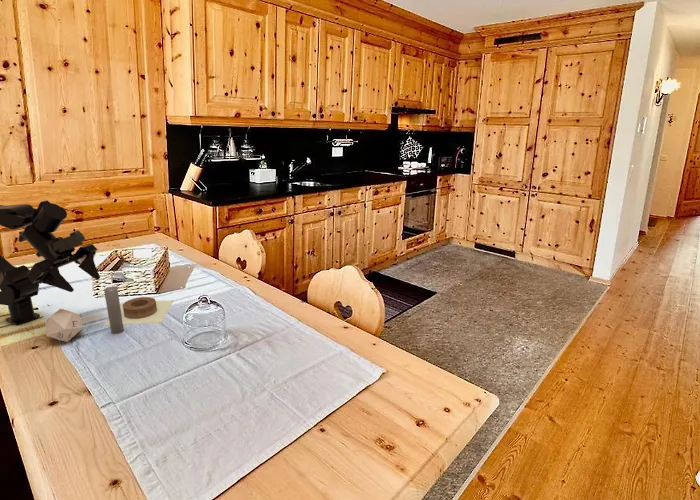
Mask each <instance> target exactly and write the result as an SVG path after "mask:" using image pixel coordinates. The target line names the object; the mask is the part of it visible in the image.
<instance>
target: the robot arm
mask: <svg viewBox="0 0 700 500" xmlns="http://www.w3.org/2000/svg"><path fill="white" fill-rule="evenodd" d="M67 217H68V213H67V211H66V209H65V208H64V207H62V206H61V205H58V204H57V203H56V204H55V203H52V202H50V201H49V200H47V199H46V200H42V201H40V202H39V204H38V206H37V208H36V207H33V206H32V205H31V204H27V203H24V204H23V203H21V204H20V203H19V204H10V205H9V204H8V205H5V204H3V205H2V204H0V227H4V228H6V229H9V230H16V229H20V228H21V229H22V228H24V227H25V228H24V229H23V230H22V231H21V230H20V231H19V232H18V242H19V243H22V242H26V241H27V242H28V243H29V244H30V246H32V247H33V248H34V250H35V251H36V253H35V256H37V258H40V257H42V258H44V260H43V259H42V260H40V261H38V262H35V263H34V264H33V265H32V267H31V268H29V267H28V266H26V265H23V264H22V265H20V266H18V267H17V266H15V265H13V264H12V263H10V261H8V260H7V259H6V258H5V257H4V256H2V255H1V254H0V305H1V306H7V309H8V313H9V316H8V317H6V318H5V321H7V322H9V323H11V324H13V325H16V326H18V325H21V324H22V325H23V324H24V323H27V322H29V321H33V320H35V319H38V318H41V315H40V314H39V313H36V312H35V309H34V305H33V302H32V297H35V296H38V295H39V288H40V284H45V285H48V286H52V287H55V288H58V289H60V290H63V291H66V292H69V293H73V292H74V291H75V289H74V288H73V286H72V285H71V284H70V283H69V281H68V280H66V278H65V277H64V276H63V275H62V274H61V273H60V269H59V268H62V267H63V266H64V267H65V266H66V265H70V264H71V263H75V264H76V265H78V266H77V267H78V268H79V269H80V270H82V271H84V272H85V273H86V274H87V275H88V276H90V277H92V278H93V279H94V280H96V281H99V280H100V279H101V276H100V274H99V271H98V269H97V266H96V264H95V260H94V258H95V256H96V252H97V251H98V250H99V249H98V248H97V247H96V246H95V245H94V244H93V243H92V244H91V243H88V244H85V245H84V241H85V240H86V238H85V236H84V234H83V233H82V232H81V231H79V230H75V231H73V232H70V233H69V236H66V237H64V238H63V237H61V236H59V237H56V235H55V234H53V233H55V232H56V231H57V230H58V229H59V227H60V226H61V225H62V223H63V222H64V221H65V220H66V218H67ZM77 247H78V248H77ZM76 248H77V250H76ZM75 251H76V252H75Z"/></svg>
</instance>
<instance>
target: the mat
mask: <svg viewBox="0 0 700 500" xmlns="http://www.w3.org/2000/svg"><path fill="white" fill-rule="evenodd" d="M155 301H156V306H157V311H156V312H155V313H154V314H153V315H150V316H148V317H144V318H139V319H129V318H126V317H125V316H124V311H123V304H124V303H125V302H126V301H123V302H120V308H121V314H122V321H123V326H125V325H126V326H127V325H128V326H129V325H142V324H144V325H145V324H162V323H163V322H164V320H165V317H166V315H167V314H168V312H169V310H170V309H171V306H172V305H173V303H174V300H173V299H172V300H171V299H169V300H168V299H166V300H155ZM108 326H109V327H110V323H109V318H108V319H107V320H106V321H105V322H104V324H103V325H102V327H108Z"/></svg>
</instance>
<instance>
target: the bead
mask: <svg viewBox="0 0 700 500" xmlns="http://www.w3.org/2000/svg"><path fill="white" fill-rule="evenodd" d="M156 301H157V300H156V299H155V298H154V297H151V296H140V297H134V298H131V299H129V300H126V301H124V302H125V303H124V304H123V311H124V316H125V317H126V318H129V319H139V318H144V317H148V316H150V315H153V314H154V313H155V312H156V311H157V306H156Z"/></svg>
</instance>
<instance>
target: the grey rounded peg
mask: <svg viewBox="0 0 700 500" xmlns="http://www.w3.org/2000/svg"><path fill="white" fill-rule="evenodd" d="M103 291H104V298H105V303H106V310H107V316H108V319H109V323H110V326H109V328H110V333H111V334H113V335H115V334H117V335H118V334H120V333H123V332H124V331H125V329H124V328H125V327H124V325H123V321H122V314H121V308H120V304H121V302H120V297H119V289H118V287H116V286H109V287H106V288H104V290H103Z"/></svg>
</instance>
